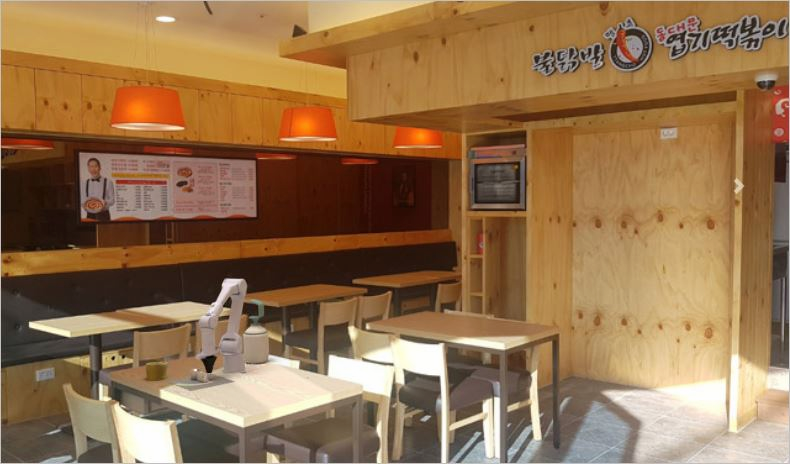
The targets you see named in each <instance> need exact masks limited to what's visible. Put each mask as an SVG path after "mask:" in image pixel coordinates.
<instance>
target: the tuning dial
mask: <svg viewBox="0 0 790 464" xmlns="http://www.w3.org/2000/svg"><path fill="white" fill-rule="evenodd" d="M201 369H202V368H200V367H193V368H190V377H191V380H199V381H202V382H209V380H208V379H207V374H208V373H207V372H206V371H202V370H201Z"/></svg>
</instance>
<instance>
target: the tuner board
mask: <svg viewBox="0 0 790 464" xmlns="http://www.w3.org/2000/svg"><path fill="white" fill-rule="evenodd" d="M207 379H208V380H209V382H202V381H199V380H191V376H189V377H186V378H181V379H176V380H169V381H168V383H169V384H172V385H174V386H176V387H178V388H181V389H184V390H187V391H189V392H192V391H193V392H194V391H198V390H202V389H208V388H212V387H216V386H217V387H218V386H221V385H227V384H231V383H235V382H236V381H234V380H232V379H229V378H226V377H223V376H220V375H217V374H213V373H207Z"/></svg>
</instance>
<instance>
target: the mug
mask: <svg viewBox="0 0 790 464" xmlns="http://www.w3.org/2000/svg"><path fill="white" fill-rule="evenodd" d="M168 364H169V363H168V362H167V361H159V362H158V361H156V362H155V361H154V362H148V363H147V362H146V364H145V375H146V380H147V381H150V382H158V381H163V380H166V379H168V366H169V365H168Z"/></svg>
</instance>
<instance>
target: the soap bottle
mask: <svg viewBox="0 0 790 464" xmlns="http://www.w3.org/2000/svg"><path fill="white" fill-rule="evenodd" d="M249 302H250V303H252V304H255V305H256V306H258V315H251V316H248V319H251V321H253V323H250V326H249V327H248V328H247V329H246V330H245V331H244V332H243V334H242V339H243V340H242V345H243V355H244V358H245V363H248V364H250V363H251V364H252V365H257V364H256V363H259V364H263V363H266V362H267V360H268V359H269V356H270V345H269V343H270V341H269V337H270V335H269V332H268V330H267V329H266V328H265V327H264V326H262V324H261V323H259V320H260V318H263V317H264V316H265V304H264V302H263V301H261V300H258V299H254V298H252V299H250V300H249Z"/></svg>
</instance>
